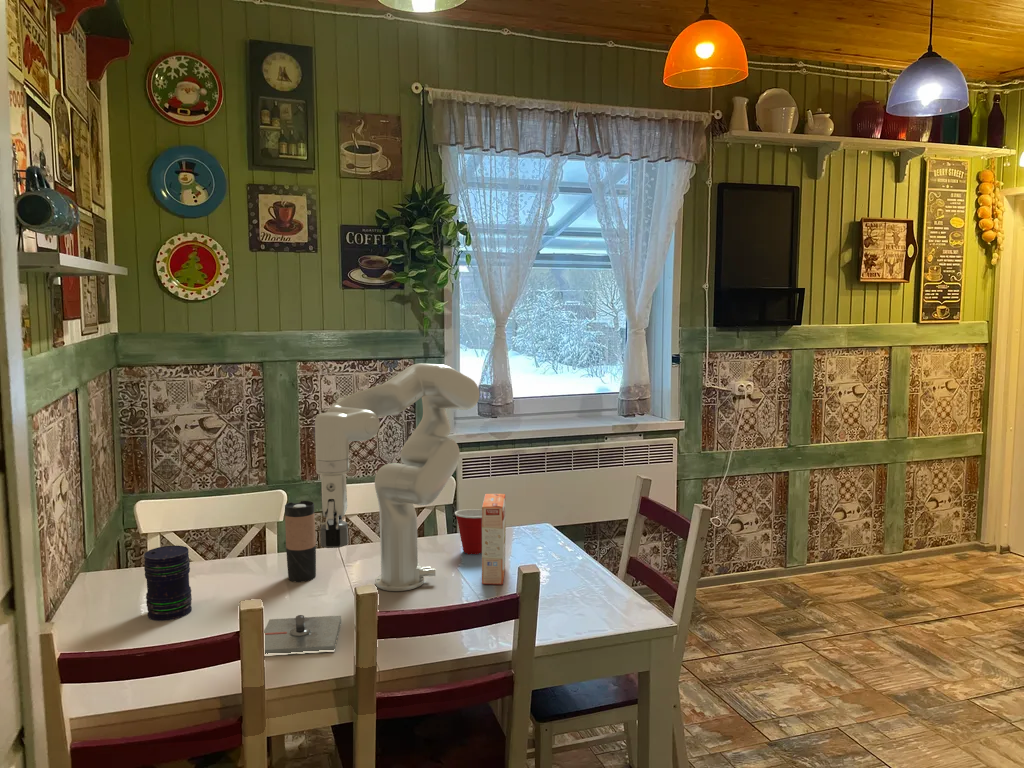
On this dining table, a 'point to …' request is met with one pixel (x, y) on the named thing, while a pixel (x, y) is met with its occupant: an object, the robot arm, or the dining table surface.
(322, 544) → the knob
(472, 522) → the plastic cup
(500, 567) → the cracker box
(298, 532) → the travel mug
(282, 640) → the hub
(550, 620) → the dining table surface
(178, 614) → the storage jar
